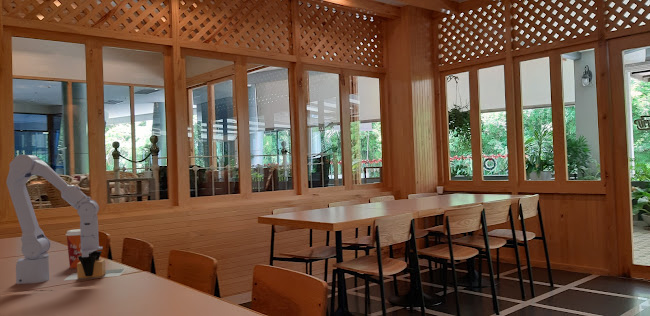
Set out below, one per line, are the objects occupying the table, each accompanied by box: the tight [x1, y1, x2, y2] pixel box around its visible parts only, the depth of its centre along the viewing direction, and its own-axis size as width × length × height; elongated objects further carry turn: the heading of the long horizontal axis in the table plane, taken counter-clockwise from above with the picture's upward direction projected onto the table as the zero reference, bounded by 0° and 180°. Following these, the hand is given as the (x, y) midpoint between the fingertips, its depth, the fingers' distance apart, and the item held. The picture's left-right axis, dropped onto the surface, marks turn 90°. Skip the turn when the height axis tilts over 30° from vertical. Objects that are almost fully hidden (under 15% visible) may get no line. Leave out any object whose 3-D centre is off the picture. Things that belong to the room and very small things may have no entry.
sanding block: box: [76, 258, 106, 278], centre depth 178 cm, size 8×5×5 cm, turn 102°
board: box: [63, 268, 126, 281], centre depth 181 cm, size 18×12×1 cm, turn 102°
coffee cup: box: [65, 228, 82, 269], centre depth 196 cm, size 8×8×15 cm
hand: (91, 274), depth 178 cm, fingers closed on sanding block, 5 cm apart
